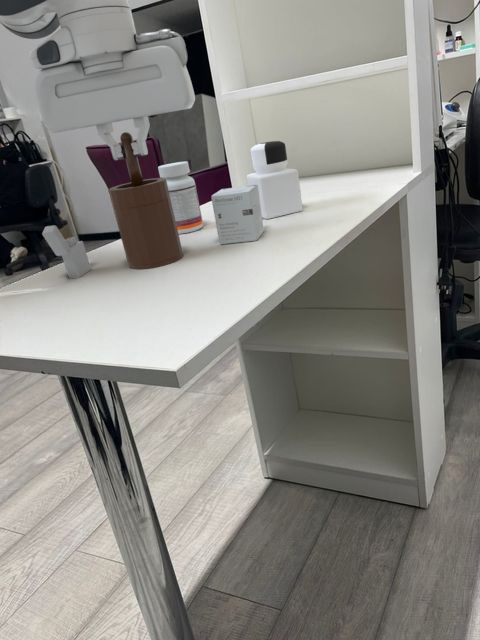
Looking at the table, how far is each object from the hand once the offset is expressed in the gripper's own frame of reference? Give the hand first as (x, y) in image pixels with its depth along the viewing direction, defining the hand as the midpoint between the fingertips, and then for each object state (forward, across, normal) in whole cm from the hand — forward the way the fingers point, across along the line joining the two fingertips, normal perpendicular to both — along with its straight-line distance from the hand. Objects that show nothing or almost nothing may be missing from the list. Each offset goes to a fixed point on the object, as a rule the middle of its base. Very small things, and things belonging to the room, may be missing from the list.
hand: (131, 157), depth 73 cm
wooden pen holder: (+14, 0, 0) cm, 15 cm away
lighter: (+15, +11, +4) cm, 19 cm away
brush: (+11, 0, 0) cm, 11 cm away
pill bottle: (+15, 0, -19) cm, 24 cm away
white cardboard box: (+15, -12, -7) cm, 20 cm away
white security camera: (+15, -16, -23) cm, 32 cm away
